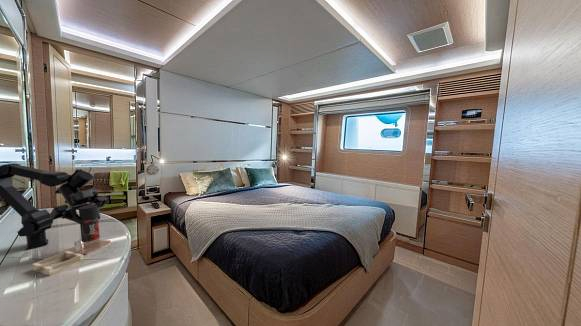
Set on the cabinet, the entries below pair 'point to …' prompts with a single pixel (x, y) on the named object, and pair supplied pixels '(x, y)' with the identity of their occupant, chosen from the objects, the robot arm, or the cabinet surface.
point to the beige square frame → (45, 269)
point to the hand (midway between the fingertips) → (91, 221)
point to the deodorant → (89, 223)
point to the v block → (88, 246)
